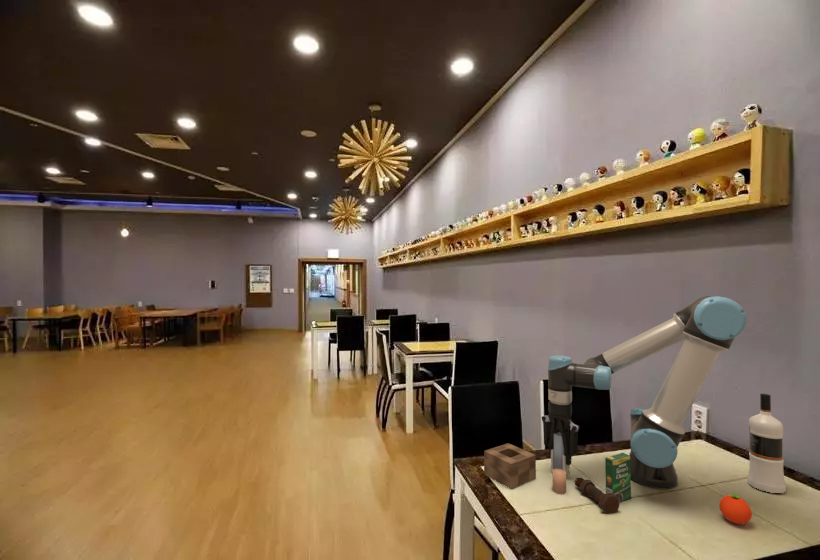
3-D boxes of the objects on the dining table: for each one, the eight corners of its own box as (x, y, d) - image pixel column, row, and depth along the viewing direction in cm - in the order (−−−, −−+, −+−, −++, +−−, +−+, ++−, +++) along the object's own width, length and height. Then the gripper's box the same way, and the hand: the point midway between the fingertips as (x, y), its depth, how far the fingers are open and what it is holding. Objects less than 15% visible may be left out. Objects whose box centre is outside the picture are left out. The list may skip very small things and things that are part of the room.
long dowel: (568, 476, 134) (568, 434, 134) (561, 479, 132) (561, 437, 132) (558, 471, 137) (558, 431, 137) (551, 474, 135) (551, 433, 135)
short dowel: (568, 491, 124) (568, 472, 124) (561, 495, 122) (561, 475, 122) (557, 486, 127) (557, 467, 127) (550, 489, 125) (549, 470, 125)
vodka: (781, 498, 120) (779, 399, 121) (742, 485, 128) (741, 392, 129) (790, 490, 125) (789, 395, 126) (753, 478, 133) (752, 388, 134)
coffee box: (612, 505, 116) (612, 460, 116) (604, 500, 119) (604, 456, 119) (631, 499, 119) (631, 455, 120) (623, 494, 122) (623, 452, 122)
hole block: (535, 479, 132) (535, 455, 132) (511, 489, 125) (511, 463, 125) (508, 465, 142) (508, 443, 142) (484, 474, 135) (484, 450, 135)
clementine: (719, 510, 114) (719, 485, 114) (751, 519, 109) (751, 493, 109) (718, 523, 108) (718, 496, 108) (752, 533, 103) (752, 505, 103)
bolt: (580, 493, 127) (614, 518, 112) (568, 486, 126) (600, 511, 111) (588, 476, 127) (622, 499, 113) (576, 469, 127) (609, 491, 112)
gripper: (532, 397, 140) (532, 464, 139) (576, 410, 126) (576, 484, 125) (545, 394, 144) (546, 459, 143) (589, 406, 130) (589, 477, 129)
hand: (560, 470), depth 134 cm, fingers closed on long dowel, 4 cm apart
